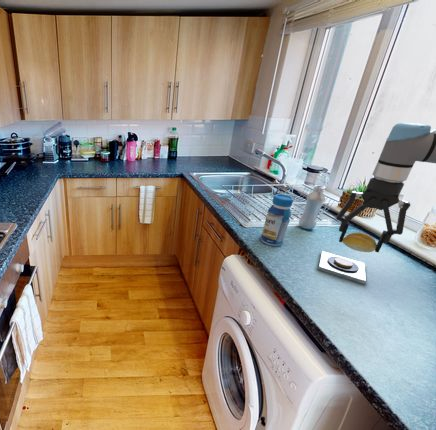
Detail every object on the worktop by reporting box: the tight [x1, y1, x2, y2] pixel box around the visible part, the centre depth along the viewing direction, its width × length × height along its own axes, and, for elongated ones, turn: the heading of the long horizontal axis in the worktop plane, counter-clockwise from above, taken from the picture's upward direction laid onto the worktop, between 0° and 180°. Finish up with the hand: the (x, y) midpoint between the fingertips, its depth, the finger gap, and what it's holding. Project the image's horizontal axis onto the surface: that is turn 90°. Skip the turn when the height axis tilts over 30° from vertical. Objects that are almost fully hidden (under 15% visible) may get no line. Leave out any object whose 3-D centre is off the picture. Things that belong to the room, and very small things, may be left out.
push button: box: [317, 250, 367, 285], centre depth 102 cm, size 13×13×3 cm
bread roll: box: [342, 232, 377, 253], centre depth 92 cm, size 8×9×4 cm
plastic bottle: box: [298, 184, 326, 230], centre depth 127 cm, size 6×7×20 cm
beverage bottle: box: [260, 193, 294, 247], centre depth 115 cm, size 8×8×20 cm
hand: (358, 245), depth 93 cm, fingers closed on bread roll, 9 cm apart
